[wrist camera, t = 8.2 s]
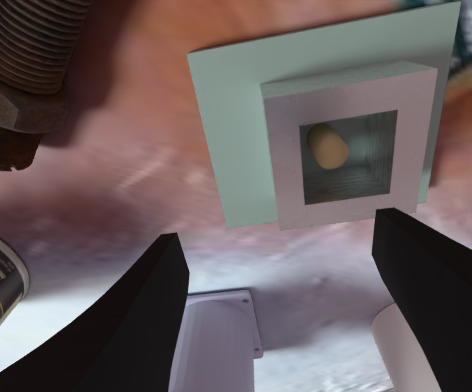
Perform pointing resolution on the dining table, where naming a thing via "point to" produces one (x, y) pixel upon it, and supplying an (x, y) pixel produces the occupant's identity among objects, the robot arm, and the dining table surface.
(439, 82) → the plate
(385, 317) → the cylindrical container
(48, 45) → the bolt
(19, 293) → the coffee can
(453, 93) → the dining table surface
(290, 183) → the grey boxy piece
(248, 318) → the robot arm
